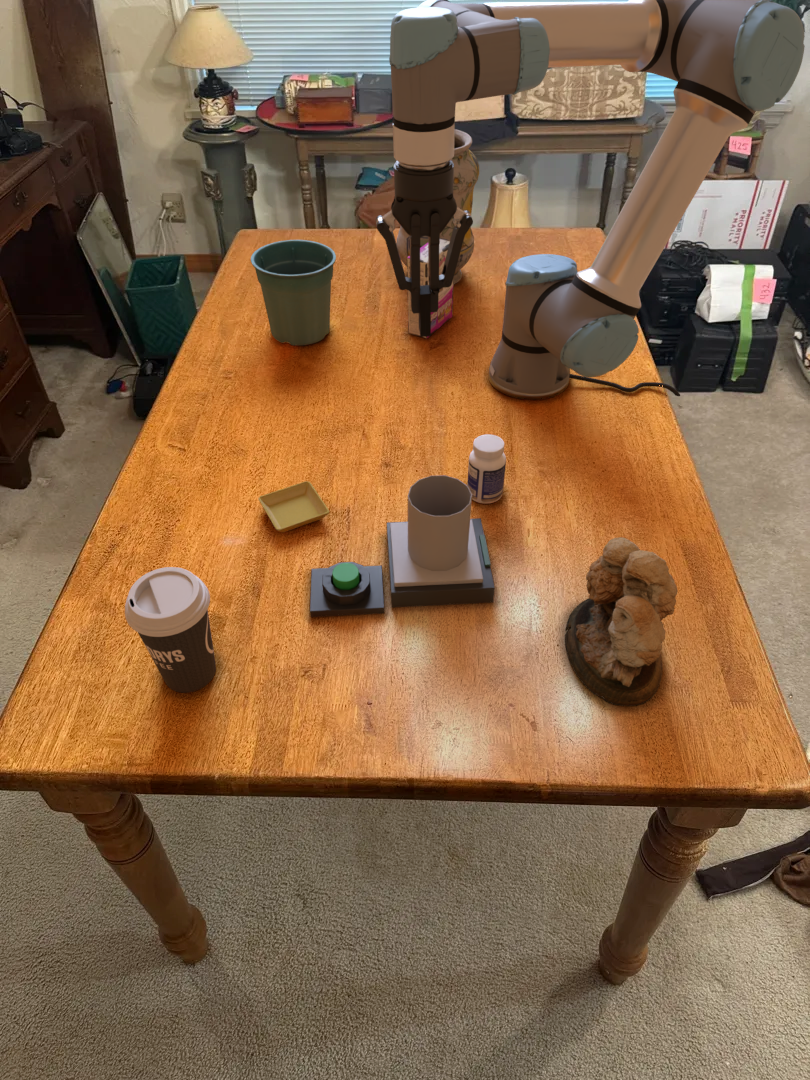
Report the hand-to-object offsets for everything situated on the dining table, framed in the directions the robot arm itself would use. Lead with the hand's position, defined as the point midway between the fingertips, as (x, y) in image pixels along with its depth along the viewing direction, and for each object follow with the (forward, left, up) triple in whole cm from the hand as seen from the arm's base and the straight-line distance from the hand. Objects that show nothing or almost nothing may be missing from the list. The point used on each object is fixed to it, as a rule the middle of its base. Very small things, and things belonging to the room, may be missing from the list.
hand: (424, 331), depth 111 cm
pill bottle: (-9, +9, -24) cm, 27 cm away
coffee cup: (+33, +41, -24) cm, 58 cm away
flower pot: (+22, -45, -24) cm, 55 cm away
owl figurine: (-21, +41, -24) cm, 52 cm away
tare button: (+13, +29, -21) cm, 38 cm away
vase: (-8, -69, -24) cm, 73 cm away
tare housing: (+13, +29, -24) cm, 40 cm away
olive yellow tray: (+21, +12, -24) cm, 34 cm away
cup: (0, +25, -20) cm, 32 cm away
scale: (0, +25, -24) cm, 35 cm away
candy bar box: (-5, -46, -24) cm, 52 cm away
